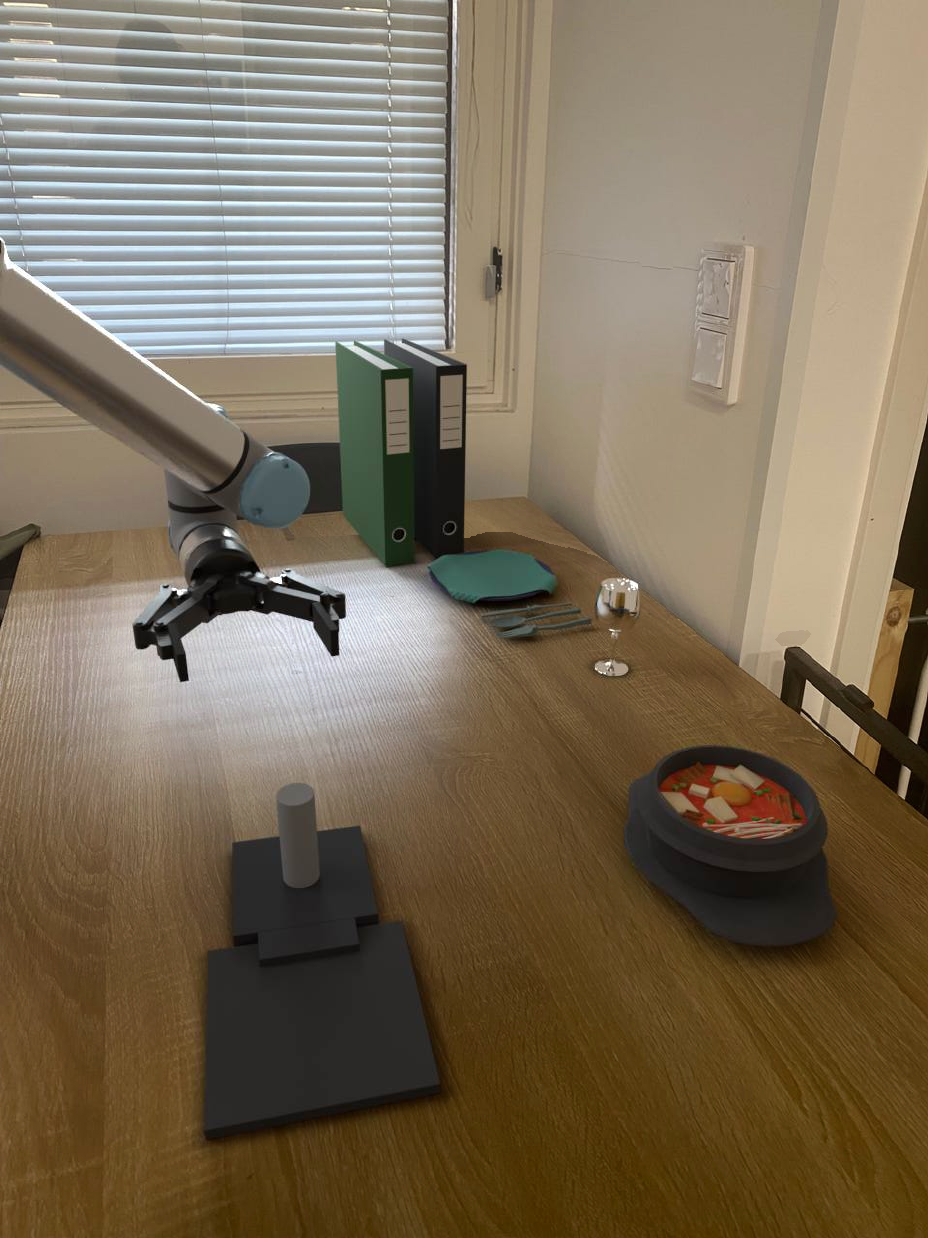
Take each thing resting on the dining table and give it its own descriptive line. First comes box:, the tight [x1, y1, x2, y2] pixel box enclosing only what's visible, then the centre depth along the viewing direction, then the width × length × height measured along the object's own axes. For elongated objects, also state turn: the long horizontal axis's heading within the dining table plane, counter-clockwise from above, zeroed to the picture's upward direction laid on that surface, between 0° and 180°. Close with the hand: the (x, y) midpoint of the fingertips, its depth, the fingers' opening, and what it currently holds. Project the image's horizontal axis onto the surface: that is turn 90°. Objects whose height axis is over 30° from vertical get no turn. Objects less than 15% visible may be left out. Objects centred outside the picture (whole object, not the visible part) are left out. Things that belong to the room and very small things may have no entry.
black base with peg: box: [231, 782, 380, 967], centre depth 78 cm, size 12×15×11 cm
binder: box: [335, 338, 468, 568], centre depth 157 cm, size 27×15×32 cm, turn 23°
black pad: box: [203, 919, 441, 1141], centre depth 69 cm, size 16×16×1 cm
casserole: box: [623, 744, 838, 947], centre depth 84 cm, size 25×19×8 cm
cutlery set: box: [427, 548, 593, 639], centre depth 140 cm, size 20×30×2 cm, turn 19°
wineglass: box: [594, 577, 641, 677], centre depth 118 cm, size 6×6×12 cm
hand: (261, 655), depth 81 cm, fingers open, 13 cm apart
